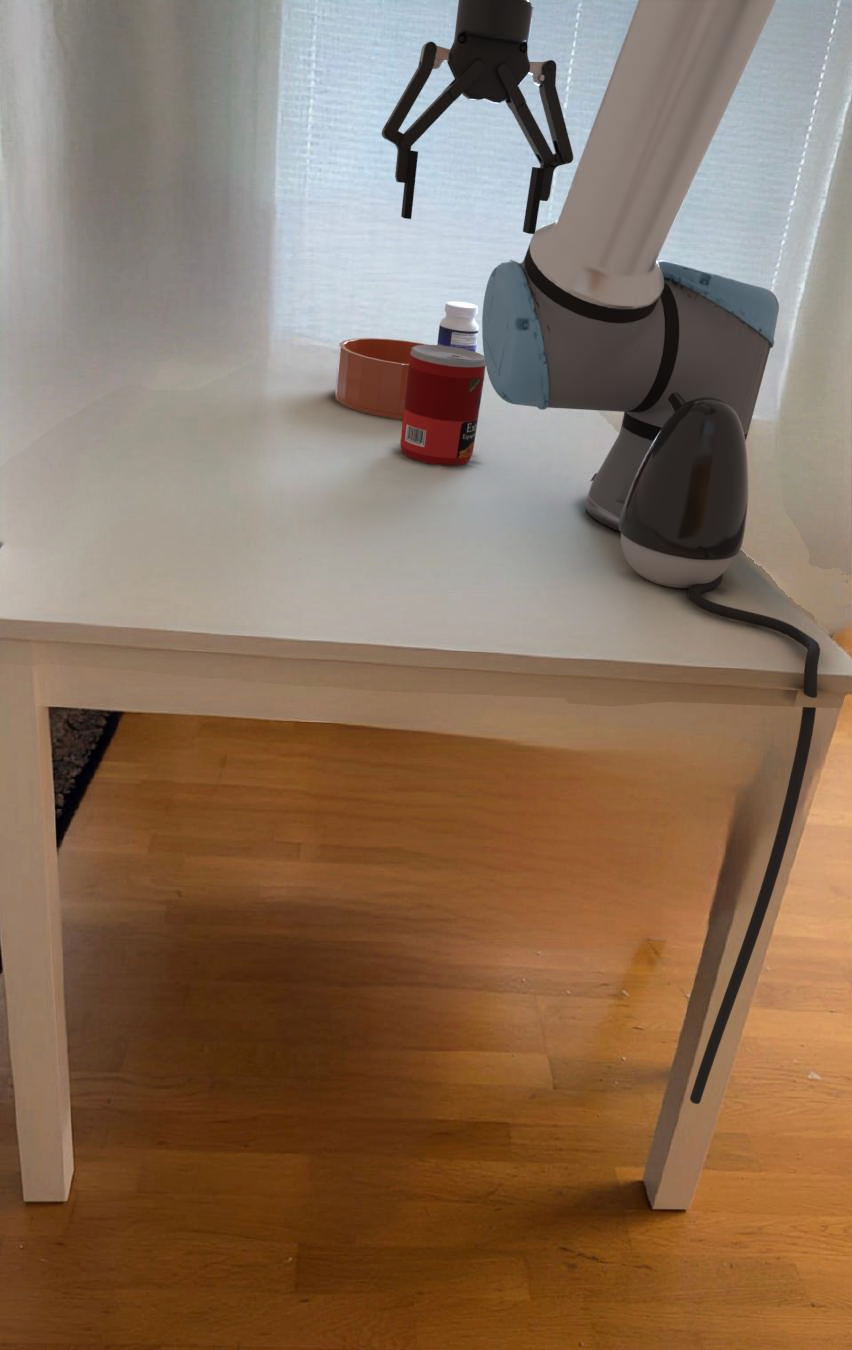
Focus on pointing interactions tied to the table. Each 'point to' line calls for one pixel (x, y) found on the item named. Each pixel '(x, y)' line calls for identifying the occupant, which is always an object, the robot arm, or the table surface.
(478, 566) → the table surface
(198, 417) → the table surface
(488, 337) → the robot arm
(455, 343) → the pill bottle
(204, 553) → the table surface
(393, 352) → the terracotta bowl
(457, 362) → the canned food
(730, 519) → the dark two-tone rounded device
